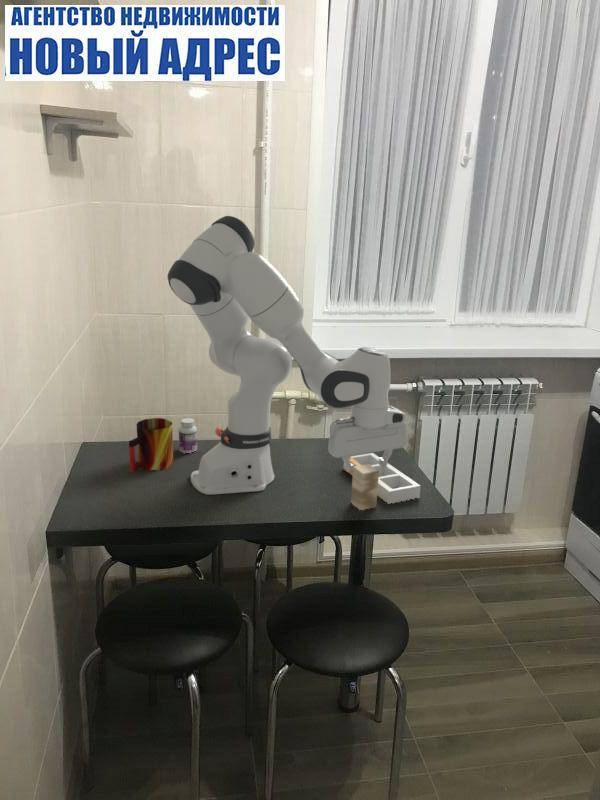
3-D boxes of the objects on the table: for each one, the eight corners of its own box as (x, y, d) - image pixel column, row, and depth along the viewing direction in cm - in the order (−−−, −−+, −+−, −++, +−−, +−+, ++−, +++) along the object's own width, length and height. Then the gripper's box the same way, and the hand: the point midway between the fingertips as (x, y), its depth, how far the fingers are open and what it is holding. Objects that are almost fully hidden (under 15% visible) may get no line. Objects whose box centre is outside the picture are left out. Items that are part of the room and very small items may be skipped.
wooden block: (360, 510, 158) (362, 473, 155) (350, 503, 162) (353, 466, 158) (376, 507, 159) (378, 470, 156) (366, 500, 163) (369, 463, 160)
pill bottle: (177, 448, 192) (176, 418, 189) (194, 446, 194) (193, 416, 191) (181, 455, 187) (181, 424, 184) (199, 452, 189) (199, 422, 186)
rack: (387, 504, 161) (388, 490, 160) (342, 469, 182) (343, 456, 180) (419, 498, 165) (420, 484, 164) (372, 464, 186) (373, 452, 185)
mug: (129, 476, 172) (127, 434, 169) (143, 456, 185) (141, 417, 182) (165, 477, 172) (164, 435, 169) (176, 457, 185) (175, 418, 182)
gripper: (336, 424, 146) (334, 479, 150) (412, 414, 154) (408, 466, 158) (324, 415, 151) (322, 469, 156) (398, 406, 159) (394, 457, 164)
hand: (366, 468), depth 157 cm, fingers open, 8 cm apart
